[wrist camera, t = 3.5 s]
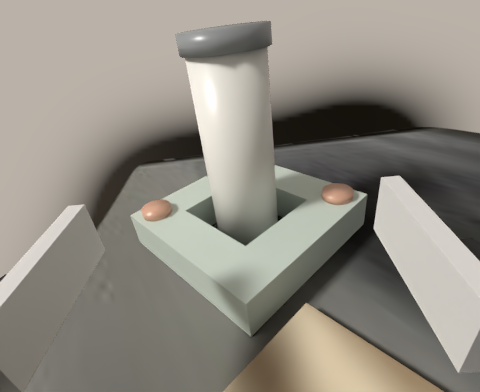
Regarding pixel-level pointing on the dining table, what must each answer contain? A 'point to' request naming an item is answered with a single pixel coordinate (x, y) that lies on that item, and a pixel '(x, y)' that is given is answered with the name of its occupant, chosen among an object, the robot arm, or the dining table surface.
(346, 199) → the frame
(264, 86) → the cylinder
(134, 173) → the dining table surface
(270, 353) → the board
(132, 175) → the dining table surface
